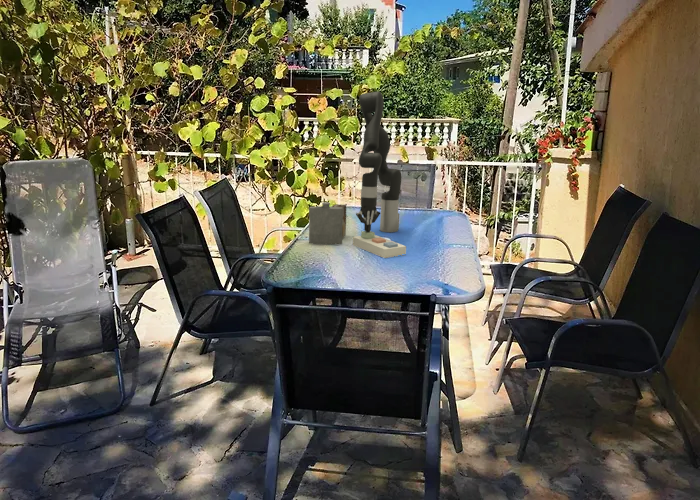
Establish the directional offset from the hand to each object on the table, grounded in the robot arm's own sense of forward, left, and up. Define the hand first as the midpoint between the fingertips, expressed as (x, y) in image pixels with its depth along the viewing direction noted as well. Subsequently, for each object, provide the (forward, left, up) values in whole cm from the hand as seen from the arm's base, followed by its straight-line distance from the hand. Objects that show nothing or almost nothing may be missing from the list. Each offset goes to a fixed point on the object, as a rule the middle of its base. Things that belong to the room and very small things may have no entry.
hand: (367, 231), depth 255 cm
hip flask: (+16, -12, -7) cm, 21 cm away
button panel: (0, +9, -7) cm, 11 cm away
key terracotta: (0, +9, -4) cm, 10 cm away
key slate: (0, +18, -4) cm, 19 cm away
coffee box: (+4, -20, -7) cm, 22 cm away
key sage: (0, 0, -3) cm, 3 cm away
